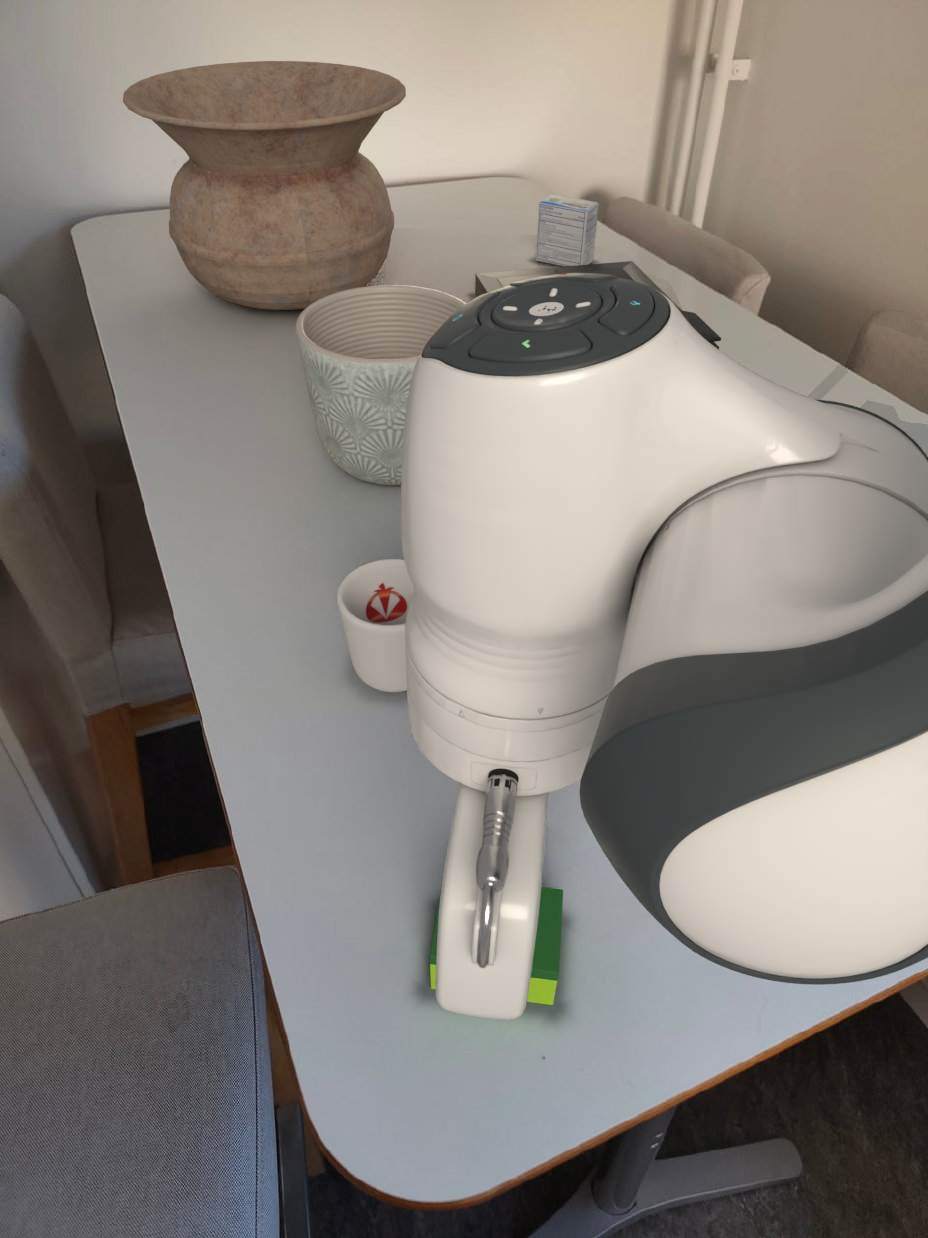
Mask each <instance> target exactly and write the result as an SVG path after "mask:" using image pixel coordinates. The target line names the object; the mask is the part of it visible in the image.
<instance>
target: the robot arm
mask: <svg viewBox="0 0 928 1238" xmlns="http://www.w3.org/2000/svg"><path fill="white" fill-rule="evenodd" d="M668 297H669V296H668ZM668 297H666V296H665V295H664V294H662V293H661V292H659V291H657V290H655V289H653V288H652V287H650V286H647V285H645V284H642V283H640V282H636V281H632V280H628V279H622V278H617V277H615V276H613V275H606V274H596V273H568V274H557V275H549V276H542V277H536V278H531V279H526V280H522V281H518V282H514V283H511V284H510V285H509V286H506V287H503V288H500V289H497V290H495V291H492V292H489V293H486V294H482V295H480V296H478V297H476V296H475V297H474V298H473V299H472V300H470V301H469V302H467V303H466V305H464V306H463V307H462V308H460V309H459V310H458V311H457V312H455V313H454V314H453V315H452V316H451V317H450V318H449V319H448V320H447V321H446V322H445V323H444V324H443V325H442V326H441V327H440V328H439V329H438V330H437V331H436V333H435V334H434V335H433V336H432V337H431V338H430V340H429V341H428V342H427V344H426V345H425V347H424V348H423V350H422V352H421V353H420V355H419V357H418V359H417V362H416V365H415V368H414V371H413V375H412V379H411V384H410V389H409V394H408V401H407V407H406V415H405V425H404V435H403V450H402V476H401V485H400V505H401V506H400V533H401V537H400V538H401V551H402V558H403V559H404V562H405V566H406V569H407V571H408V574H409V576H410V579H411V581H412V583H413V586H414V594H413V597H412V600H411V602H410V605H409V608H408V612H407V617H406V624H405V648H406V670H407V691H406V694H407V695H406V696H407V697H406V698H407V718H408V719H407V720H408V724H409V729H410V732H411V735H412V737H413V739H414V741H415V743H416V745H417V748H419V750H420V752H421V753H422V755H424V757H425V758H426V759H427V761H429V762H430V763H431V764H432V765H433V766H434V767H435V768H436V769H437V770H438V771H440V772H441V773H442V774H444V775H446V776H447V777H448V778H450V779H452V780H453V781H456V782H457V783H458V784H457V790H456V796H455V802H454V809H453V814H452V820H451V826H450V832H449V836H448V843H447V850H446V855H445V861H444V867H443V873H442V879H443V880H441V885H442V888H441V887H440V891H441V896H440V895H439V897H440V906H439V918H438V935H437V955H436V984H435V989H434V991H435V999H436V1002H437V1004H438V1006H440V1008H442V1009H443V1010H445V1011H447V1012H451V1013H454V1014H459V1015H462V1016H469V1017H473V1018H474V1017H475V1018H480V1019H488V1020H500V1021H512V1020H517V1019H518V1018H520V1017H521V1016H522V1015H523V1013H524V1012H525V1010H526V1007H527V1003H528V1002H527V999H528V993H529V986H530V979H531V972H532V965H533V957H534V949H535V941H536V934H537V926H538V916H539V907H540V896H541V887H543V886H542V883H543V871H544V858H545V857H544V856H545V845H546V844H545V843H546V830H547V817H548V804H549V803H548V802H549V793H552V792H555V791H560V790H562V789H565V788H567V787H570V786H572V785H574V784H575V783H577V782H580V783H579V802H580V808H581V811H582V814H583V817H584V819H585V822H586V824H587V825H588V827H589V830H590V831H591V833H592V835H593V837H594V838H595V840H596V842H597V844H598V845H599V847H600V849H601V851H602V852H603V854H604V855H605V857H606V858H607V860H608V861H609V863H610V865H611V866H612V867H613V869H614V871H615V872H616V874H617V875H618V877H619V878H620V879H621V881H622V882H623V884H624V885H625V886H626V887H627V889H629V891H630V892H631V893H632V895H633V896H634V897H635V899H636V900H637V901H638V902H639V903H640V904H641V905H642V907H644V909H645V910H646V912H648V913H649V914H650V915H651V916H652V917H653V918H654V920H656V921H657V922H658V923H659V924H660V925H661V926H662V927H663V928H664V929H665V930H666V931H667V932H668V933H670V934H671V935H672V936H673V937H674V938H675V939H677V941H679V943H681V944H682V945H683V946H685V947H686V948H688V949H689V950H691V951H692V952H694V953H695V954H697V955H698V956H700V957H701V958H704V959H706V960H707V961H709V962H712V963H714V964H716V965H718V966H720V967H722V968H725V969H728V970H731V971H733V972H735V973H739V974H743V975H745V976H750V977H753V978H758V979H761V980H766V981H772V982H779V983H784V984H785V983H786V984H794V985H795V984H796V985H813V986H814V985H820V986H821V985H841V984H849V983H856V982H862V981H867V980H873V979H876V978H881V977H884V976H887V975H891V974H893V973H896V972H899V971H901V970H904V969H906V968H910V967H911V966H913V965H916V964H917V963H920V962H922V961H924V960H927V959H928V455H927V454H926V452H925V451H924V450H923V448H922V447H921V446H920V445H919V444H918V443H917V442H916V440H914V439H913V438H912V437H911V436H910V435H909V434H908V433H907V432H906V431H904V430H903V429H901V427H899V426H897V425H896V424H895V423H893V422H892V421H890V420H888V419H886V418H885V417H883V416H880V415H879V414H877V413H874V412H872V411H869V410H867V409H864V408H861V407H858V406H855V405H852V404H847V403H843V402H838V401H833V400H826V399H815V398H812V397H809V396H807V395H804V394H802V393H799V392H796V391H794V390H792V389H789V388H787V387H785V386H783V385H781V384H779V383H777V382H774V381H773V380H770V379H768V378H767V377H764V376H763V375H760V374H759V373H757V372H755V371H754V370H751V369H749V367H746V366H745V365H743V364H741V363H740V362H739V361H736V360H735V359H733V358H732V357H730V356H728V354H726V353H724V352H723V351H721V350H720V348H719V349H717V348H716V347H715V346H713V345H712V344H711V343H709V342H708V341H707V340H706V339H704V338H703V337H702V336H701V335H700V334H699V333H698V332H697V331H696V330H695V329H694V328H693V327H692V326H691V325H690V323H689V322H688V321H687V320H686V318H685V317H684V316H683V315H682V313H681V312H680V311H679V309H678V308H677V307H676V306H675V305H674V303H675V302H674V301H673V300H672V299H671V298H670V297H669V298H670V299H671V300H672V301H673V302H674V303H673V302H672V301H671V300H670V299H669V298H668Z"/></svg>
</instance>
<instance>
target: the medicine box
mask: <svg viewBox="0 0 928 1238" xmlns="http://www.w3.org/2000/svg"><path fill="white" fill-rule="evenodd" d="M599 207H600V204H599V203H598V202H596V201H591V200H587V199H581V198H576V197H570V196H564V195H558V194H550V195H548V196H547V197H544V198H543V199H542V200H541V201H539V202H538V213H537V227H536V229H537V230H536V244H535V245H536V247H535V261H537V262H541V263H546V264H550V265H554V266H559V267H565V266H577V265H590V264H592V262H593V261H594V257H595V244H596V235H597V226H598V225H597V224H598V215H599Z"/></svg>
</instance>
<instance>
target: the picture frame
mask: <svg viewBox="0 0 928 1238" xmlns="http://www.w3.org/2000/svg"><path fill="white" fill-rule="evenodd" d="M568 273H596V274H606V275H613V276H615V277H617V278H622V279H628V280H632V281H636V282H640V283H642V284H645V285H647V286H650V287H652V288H653V289H655V290H657V291H659V292H661V293H662V294H664V295H665V296H666V297H668V298H669V299H670V300H671V301H672V302H673V303H674V305H675V306H676V307H677V308H678V309H679V311H680V312H681V313H682V315H683V316H684V317H685V318H686V320H687V321H688V322H689V323H690V325H691V326H692V327H693V328H694V329H695V330H696V331H697V332H698V333H699V334H700V335H701V336H702V337H703V338H704V339H706V340H707V341H708V342H709V343H711V344H712V345H713V346H715V347H716V348H717V349H719V350H720V346H719V345H718V344H717V343H716V342H721V341H722V337H720V335H719V334H718V333H716V331H714V330H713V329H712V328H711V327H710V326H709V325H708V324H707V323H706V322H705V321H704V320H703V319H702V318H701V317H700V316H699V315H698V314H697V313H696V312H692V311H688V310H683V309H681V308H680V307H679V306H678V305H677V304H676V302H674V301H673V300H672V299H671V298H670V297H669V296H668V295H667V294H666V293H665V292H664V291H663V290H662V289H661V288H660V287H659V285H657V284H656V283H655V282H654V281H653V280H652V279H651V278H650V277H649V276H648V275H647V274H646V273H645V272H644V271H643V270H642V269H641V268H640V267H639V266H638V265H637V264H636V263H635V262H634V261H632V260H628V261H627V260H626V261H616V262H615V261H614V262H604V263H590V264H589V265H577V266H555V267H553V266H551V267H541V268H529V269H528V268H527V269H517V270H505V271H503V270H502V271H493V272H480V273H479V272H478V273H475V277H474V278H475V279H474V280H475V283H474V296H475V298H476V297H478V296H480V295H482V294H486V293H489V292H492V291H495V290H497V289H500V288H503V287H506V286H509V285H510V284H511V283H514V282H518V281H522V280H526V279H531V278H536V277H542V276H549V275H557V274H568Z"/></svg>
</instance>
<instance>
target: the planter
mask: <svg viewBox="0 0 928 1238" xmlns="http://www.w3.org/2000/svg"><path fill="white" fill-rule="evenodd" d="M466 304H467V303H466V302H465V301H463V300H462V299H460V298H458V297H456V296H455V295H452V294H449V293H447V292H444V291H440V290H437V289H432V288H427V287H421V286H414V285H404V284H402V285H401V284H377V285H368V286H367V285H366V286H365V287H359V288H353V289H348V290H344V291H340V292H337V293H334V294H331V295H328V296H326V297H323V298H321V299H319V300H317V301H315V302H314V303H312V304H311V305H309V306H308V307H307V308H305V309H302V311H301V312H300V314H299V315H298V317H297V319H296V321H295V333H296V339H297V341H298V342H297V344H298V347H299V352H300V358H301V362H302V368H303V373H304V378H305V383H306V387H307V392H308V397H309V402H310V409H311V414H312V417H313V422H314V427H315V430H316V433H317V435H318V439H319V441H320V443H321V445H322V447H323V449H324V450H325V452H326V454H327V455H328V456H329V458H330V459H331V461H332V462H333V463H334V464H336V465H337V467H339V468H340V469H341V470H343V471H344V472H345V473H347V474H349V475H350V476H352V477H353V478H356V479H358V480H360V481H364V482H367V483H371V484H376V485H384V486H401V476H402V450H403V435H404V425H405V415H406V407H407V401H408V394H409V389H410V384H411V379H412V375H413V371H414V368H415V365H416V362H417V359H418V357H419V355H420V353H421V352H422V350H423V348H424V347H425V345H426V344H427V342H428V341H429V340H430V338H431V337H432V336H433V335H434V334H435V333H436V331H437V330H438V329H439V328H440V327H441V326H442V325H443V324H444V323H445V322H446V321H447V320H448V319H449V318H450V317H451V316H452V315H453V314H454V313H455V312H457V311H458V310H459V309H460V308H462V307H463V306H464V305H466Z"/></svg>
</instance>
